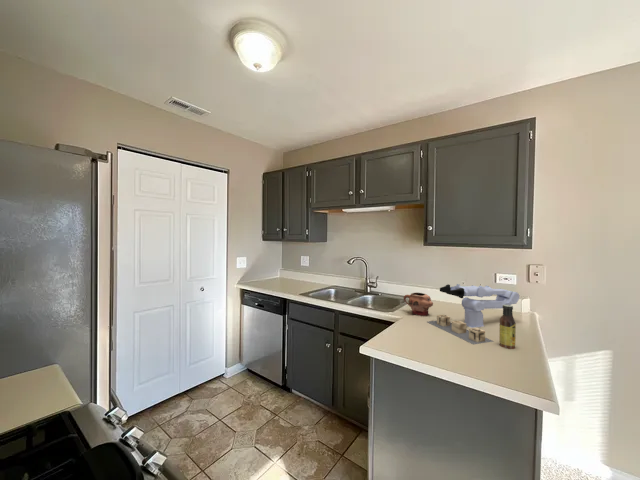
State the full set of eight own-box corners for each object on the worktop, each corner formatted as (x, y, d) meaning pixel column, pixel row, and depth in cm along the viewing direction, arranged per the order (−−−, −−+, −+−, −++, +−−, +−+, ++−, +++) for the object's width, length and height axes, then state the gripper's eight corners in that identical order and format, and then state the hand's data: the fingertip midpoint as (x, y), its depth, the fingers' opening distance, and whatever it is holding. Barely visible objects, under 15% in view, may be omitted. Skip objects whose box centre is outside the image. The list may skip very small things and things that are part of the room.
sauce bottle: (515, 351, 122) (516, 308, 122) (499, 348, 126) (500, 306, 125) (514, 346, 128) (515, 305, 127) (499, 343, 131) (499, 303, 131)
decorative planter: (399, 313, 180) (399, 292, 179) (406, 309, 189) (406, 289, 189) (430, 319, 167) (430, 297, 167) (435, 314, 177) (436, 293, 176)
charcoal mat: (443, 320, 165) (443, 319, 165) (494, 342, 132) (494, 341, 132) (426, 322, 161) (426, 321, 161) (473, 345, 129) (473, 344, 129)
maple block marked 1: (443, 322, 159) (443, 314, 159) (450, 325, 155) (450, 316, 154) (436, 323, 158) (436, 314, 158) (442, 326, 153) (443, 317, 153)
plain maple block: (458, 329, 148) (459, 320, 148) (466, 332, 144) (466, 323, 143) (451, 330, 147) (451, 321, 147) (458, 333, 142) (458, 324, 142)
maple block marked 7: (476, 337, 137) (476, 327, 137) (485, 341, 133) (485, 330, 132) (468, 338, 136) (468, 328, 136) (477, 342, 131) (477, 332, 131)
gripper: (455, 281, 161) (436, 281, 157) (475, 286, 147) (455, 286, 143) (454, 293, 161) (435, 293, 157) (474, 299, 147) (454, 299, 143)
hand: (445, 291), depth 150 cm, fingers open, 7 cm apart
